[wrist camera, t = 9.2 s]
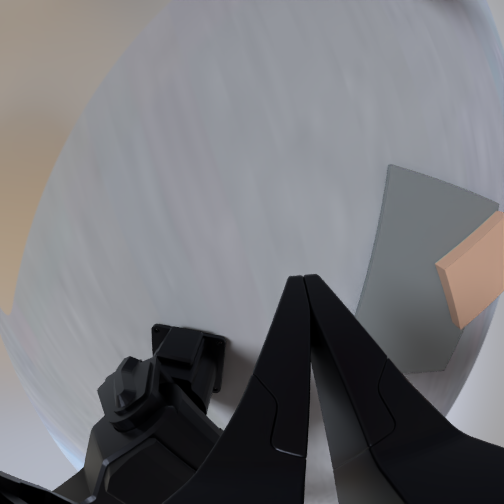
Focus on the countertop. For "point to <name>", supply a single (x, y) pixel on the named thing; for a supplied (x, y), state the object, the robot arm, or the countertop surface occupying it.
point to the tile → (474, 271)
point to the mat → (416, 268)
